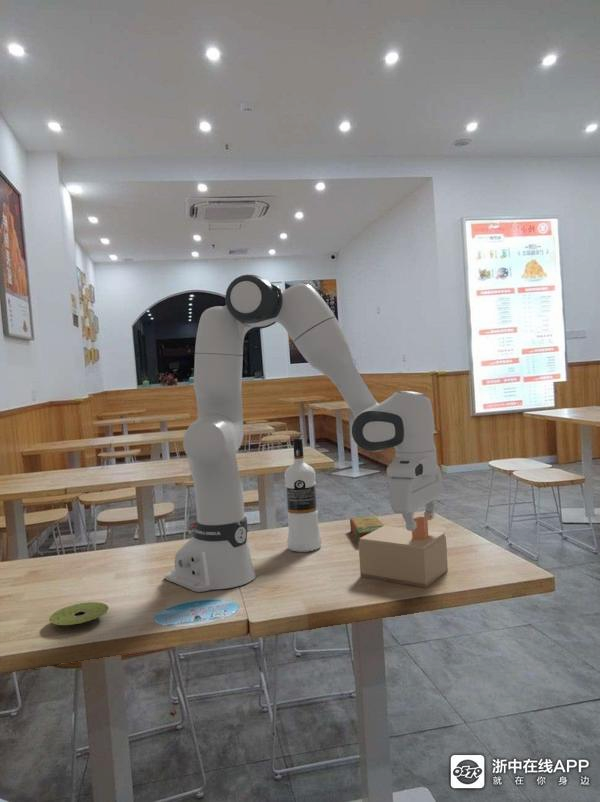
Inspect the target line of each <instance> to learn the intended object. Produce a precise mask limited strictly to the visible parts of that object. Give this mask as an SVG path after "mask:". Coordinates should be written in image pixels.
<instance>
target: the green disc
mask: <svg viewBox="0 0 600 802" xmlns="http://www.w3.org/2000/svg"><path fill="white" fill-rule="evenodd" d="M108 611H109V605H107V604H106V603H104V602H98V601H97V602H95V601H90V602H81V603H77V604H72V605H69V606H64V607H63V608H61V609H58V610H56V611H55V612H53V614H51V615H50V616H49V618H48V619H49V623H51V624H54V625H59V626H70V625H71V626H72V625H76V624H83V623H86V622H90V621H92V620H95V619H98V618H100V617H102V616H103V615H105V614H106V613H107V612H108Z"/></svg>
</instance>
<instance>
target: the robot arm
mask: <svg viewBox="0 0 600 802" xmlns="http://www.w3.org/2000/svg"><path fill="white" fill-rule="evenodd" d="M224 297H225V298H224V299H225V305H223V306H221V305H219V306H217V305H216V306H212V307H209V308H206V309H205V310H204V311H203V312H202V313H201V315H200V318H199V322H198V327H197V331H196V336H195V346H194V348H195V349H194V368H193V390H194V394H195V399H196V407H197V408H196V409H197V419H196V420H194V421H193V422H192V423H190V424H189V426H188V428H187V429H186V431H185V433H184V436H183V440H182V446H183V450H184V452H185V454H186V457H187V461H188V465H189V469H190V475H191V478H192V481H193V487H194V493H195V506H196V519H197V520H196V522H193V523H190V524H189V526H191V527H189V529H190V530H191V529H193V533H192V537H191V538H190V539H189V540H188V541H187V542H186V543H184V545H183V546H181V547H180V548H179V549H178V550H177V552H175V556H174V568H172V569H170V570H169V571H167V573H166V574H165V575H164V577H165V578H164V579H165V580H166V581H168V582H172V583H173V584H176V585H179V586H181V587H183V588H186V589H188V590H191V591H193V592H196V593H201V592H207V591H211V590H224V589H232V588H237V587H240V586H243V585H246V584H248V583H250V582H252V581H253V580H254V579H255V578H256V577H257V575H256V574H257V573H256V571H255V569H254V567H255V566H254V563H253V561H252V557H251V551H250V550H251V549H250V546H249V541H248V529H249V528H248V521H247V520H248V519H247V517H246V514H245V503H244V502H245V501H244V489H243V487H244V486H243V483H242V482H243V481H242V480H241V476H240V473H239V472H240V471H239V465H238V462H237V451H239V449H240V448H241V446H242V444H243V440H244V412H243V411H244V410H243V396H242V385H243V383H242V380H243V363H244V361H243V360H244V356H243V355H244V341H245V337H246V334H247V332H248V333H249V332H254V331H258V330H261V329H266V328H268V327H271V326H273V325H275V324H277V323H278V324H280V326H282V327H283V328H284V329H285V331H286V332H287V334H288V335H289V337H290V339H291V340H292V342H293V344H294V345H295V348H296V349H297V351H298V352H299V353H300V354H301V355H302V357H303V358H304V360H305V361H306V362H307V363H309V365H310V366H311V367H312V368H314V369H315V370H317V371H318V372H320V373H321V374H323V375H325V377H327V378H329V380H330V381H331V382H332V383H333V385H334V386H335V387H336V388H337V390H338V391H339V393H340V395H341V396H342V398H343V399H344V401H345V403H346V404H347V406H348V407H349V409H350V411H351V412H352V416H353V420H354V421H353V423H352V425H351V436H352V438H353V441H354V443H356V445H357V446H358V447H359V448H361V449H362V450H365V451H367V452H381V451H383V450H387V449H391V448H394V450H395V457H394V458H393V460H392V461H391V463H389V465H388V466H387V467H386V476H387V477H388V478H390V479H389V482H388V493H389V499H390V500H389V501H390V508H391V510H392V512H393V513H394V514H400V515H402V518H403V520H404V523H405V528H406V529H407V530H408V531H414V530H415V529H416V528H417V526H416V521H414V518H413V517H414V516H415V511H416V510H418V509H420V508H421V507H424V506H425V511H424V512H423V515H424V516H423V517H427V520H428V521H432V520H434V518H435V508H436V504H437V503H436V501H437V499H438V498H440V497H442V496H443V493H444V482H443V475H442V471H441V470H442V469H441V467H440V465H438V462H437V447H436V445H435V441H434V435H435V419H434V412H433V406H432V402H431V400H430V397H429V396H427V395H426V394H424V393H422V392H419V391H414V390H413V391H412V390H411V391H410V390H398V391H395V392H394V393H393V394H392V395H391V396H389V397H388V398H387V399H385V400H383V401H382V402H379V401H378V400H377V399H376V398H375V396H374V395H373V393H372V392H371V390H370V388H369V387H368V386H367V383H366V382H365V381H364V380H365V379H364V378H363V377H362V376H361V374H360V372H359V371H358V369H357V367H356V364H355V362H354V361H355V360H354V359H353V356H352V352H351V349H350V346H349V343H348V339H347V337H346V335H345V332H344V330H343V328H342V326H341V325H340V322H339V321H338V319H337V317H336V316H335V314H334V313H333V311H332V309H331V307H329V305H328V303H326V301H325V300H324V299H323V297H322V296H321V295H320V293H318V292H317V290H316V289H315V288H314V287H312V286H311V285H310V284H307V283H297V284H294V285H292V286H289V287H287V288H285V289H283V290H282V289H281V288H280V287H279V286H278V285H276V284H274V283H273V282H271V281H269V280H268V279H266V278H264V277H261V276H259V275H255V274H243V275H240V276H238V277H236V278H235V279H233V280H232V281H231V282H230V283H229V285H228V287H227V289H226V291H225V296H224Z"/></svg>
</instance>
